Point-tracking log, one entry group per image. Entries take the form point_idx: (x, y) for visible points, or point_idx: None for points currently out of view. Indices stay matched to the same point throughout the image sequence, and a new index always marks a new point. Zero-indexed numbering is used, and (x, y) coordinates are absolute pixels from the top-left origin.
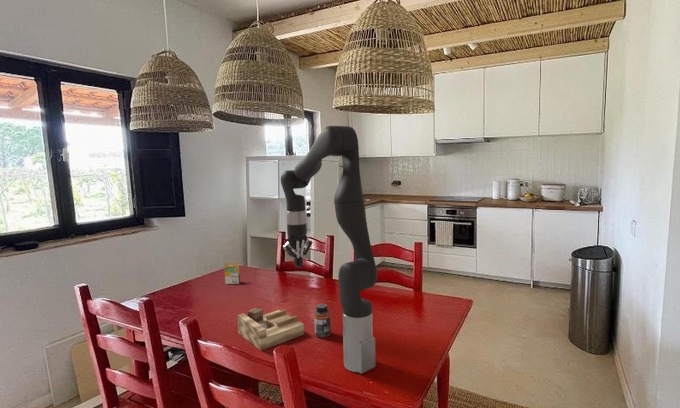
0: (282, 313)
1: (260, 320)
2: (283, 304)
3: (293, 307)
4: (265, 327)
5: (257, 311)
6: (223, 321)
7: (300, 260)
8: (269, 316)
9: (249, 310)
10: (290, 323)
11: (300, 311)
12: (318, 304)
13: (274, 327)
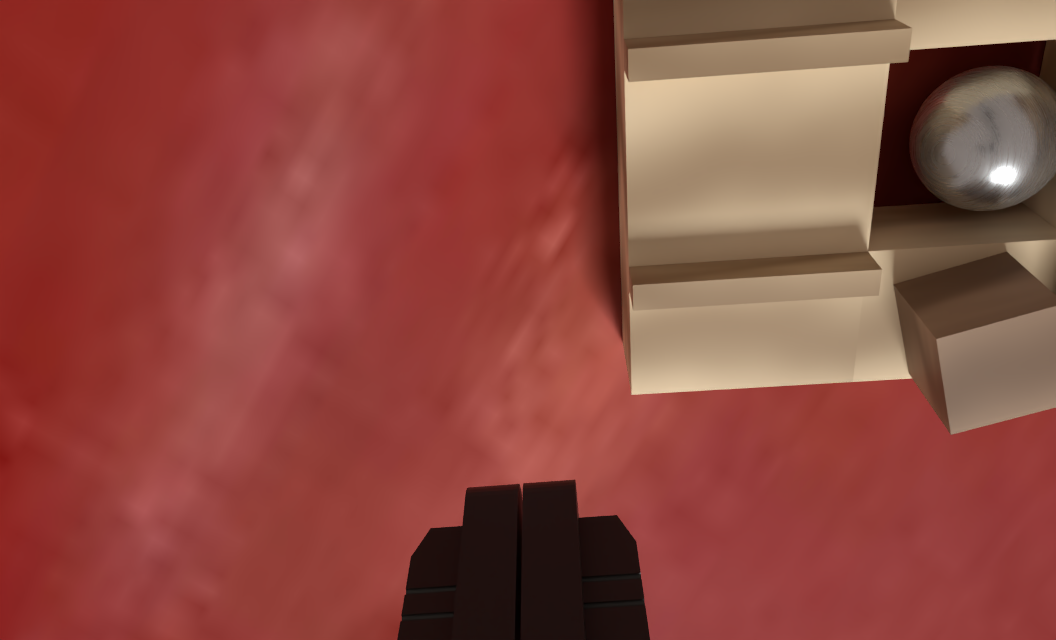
0: (681, 271)
1: (932, 276)
2: None
3: (390, 486)
4: (994, 97)
5: (1008, 330)
6: (998, 567)
7: (495, 624)
8: (849, 267)
9: (1046, 405)
10: (735, 6)
11: (375, 379)
12: None
13: (930, 29)
